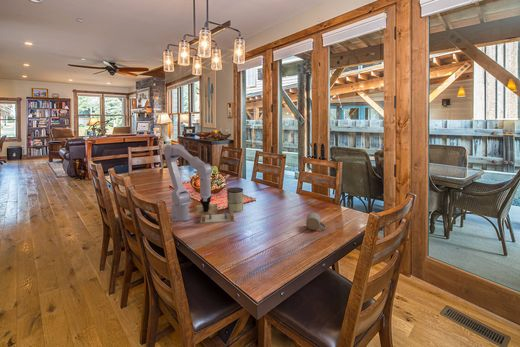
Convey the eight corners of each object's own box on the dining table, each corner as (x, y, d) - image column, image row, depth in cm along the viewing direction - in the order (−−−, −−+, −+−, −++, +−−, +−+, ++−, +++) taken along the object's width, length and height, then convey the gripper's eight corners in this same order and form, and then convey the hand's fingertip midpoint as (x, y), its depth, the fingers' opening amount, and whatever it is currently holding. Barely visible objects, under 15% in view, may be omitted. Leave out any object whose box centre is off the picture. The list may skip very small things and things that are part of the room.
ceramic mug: (305, 230, 154) (306, 216, 153) (306, 225, 162) (306, 211, 161) (326, 232, 152) (327, 218, 151) (325, 226, 160) (326, 213, 159)
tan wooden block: (195, 214, 159) (194, 206, 158) (195, 212, 163) (195, 204, 162) (217, 214, 160) (217, 206, 159) (217, 211, 164) (217, 203, 163)
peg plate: (200, 223, 165) (200, 217, 165) (201, 216, 177) (201, 210, 176) (235, 221, 168) (235, 215, 167) (234, 214, 180) (234, 209, 179)
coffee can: (224, 210, 189) (223, 189, 187) (237, 207, 196) (236, 186, 193) (233, 213, 181) (232, 192, 179) (246, 210, 188) (246, 189, 185)
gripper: (212, 189, 152) (213, 214, 155) (213, 183, 166) (214, 206, 169) (198, 189, 151) (199, 214, 154) (200, 183, 165) (201, 206, 168)
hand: (206, 210), depth 161 cm, fingers closed on tan wooden block, 4 cm apart
